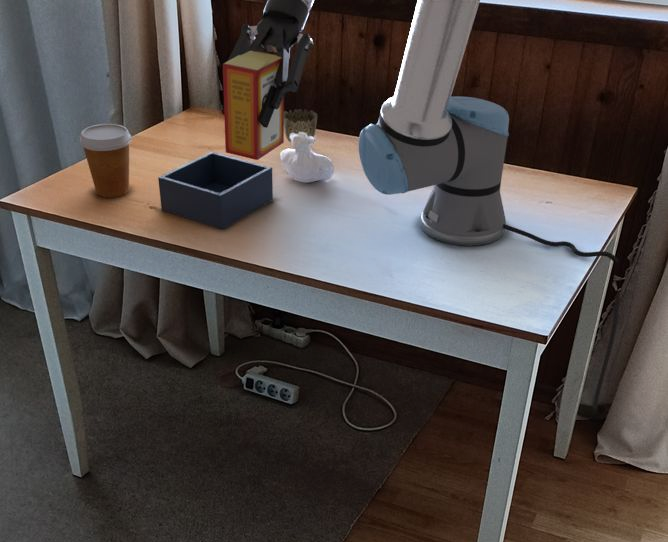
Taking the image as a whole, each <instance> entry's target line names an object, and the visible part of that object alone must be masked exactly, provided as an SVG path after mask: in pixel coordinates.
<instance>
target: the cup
mask: <svg viewBox="0 0 668 542" xmlns="http://www.w3.org/2000/svg"><path fill="white" fill-rule="evenodd" d="M317 121H318V114H317V112H316V111H315V112H314V110H312V109H310V110H309V111H308V110H307V109H306V108H305V109H304V110H302V109H301V108H299V109H298V110H297V109H296V108H295V109H294V111H292V110H291V109H289V110H288V111H284V134H285V135H284V136H285V139H286V140H287V141H288V143H290V144H291V140H290V138H289V137H290V134H291V133H295V134H298V133H299V132H303V133H307V136H308V137H309V136H312V137H313V138H314V137H316V136H315V135H316V130H317V124H318V123H317ZM291 149H295V148H292V147H291Z"/></svg>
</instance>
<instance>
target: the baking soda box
mask: <svg viewBox="0 0 668 542" xmlns="http://www.w3.org/2000/svg"><path fill="white" fill-rule="evenodd" d="M248 51H249V50H248ZM281 59H282V57H278V56H277V54H275V53H270V52H268V53H264V52H259V51H256V52H255V51H249V52H247V53H245V54H242V55H238V56H236V57H235V58H233V59H231V60H229V61H228V60H227V61H226V62H223V63H222V84H223V85H222V86H223V87H222V89H223V106H224V115H223V117H224V143H225V153H227V154H230V155H234V156H238V157H243V158H247V159H251V160H255V161H259V160H260V159H262V158H263V157H264V156H267V155H268V154H269V153H271V152H272V151H273V150H275V149H276V148H278V147H279V146H281V145H282V144H284V142H285V141H284V140H285V139H284V137H285V135H284V134H285V129H284V112H285V96H284V97H283V99H282V102H281V104H280V107H279V108H278V109H274V112H273V114H272V117H271V119H270V122H269V125H268V127H267V128H266V127H263V126H262V125H261V123H260V122H259V121H258V120H257V119H258V117H259V114H260V112H261V109H262V107H263V104H264V101H265V99H266V96H267V94H268V91H269V89H270V86H275V88H276V85H275V83H276V72H277V69H278V67H279V64H280V62H281ZM274 82H275V83H274Z"/></svg>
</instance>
